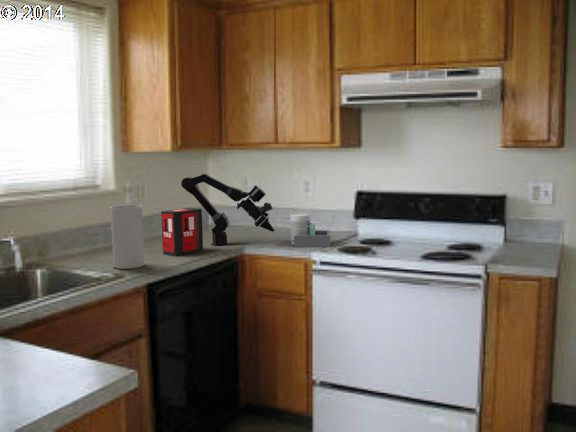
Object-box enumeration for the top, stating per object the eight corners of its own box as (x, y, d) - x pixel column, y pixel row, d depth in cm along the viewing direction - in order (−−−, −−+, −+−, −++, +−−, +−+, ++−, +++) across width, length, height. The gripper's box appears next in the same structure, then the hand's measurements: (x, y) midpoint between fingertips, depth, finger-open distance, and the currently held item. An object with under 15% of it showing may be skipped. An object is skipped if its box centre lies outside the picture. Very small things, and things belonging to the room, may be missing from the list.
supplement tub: (311, 245, 296) (311, 215, 295) (292, 246, 295) (292, 216, 293) (308, 242, 306) (307, 213, 304) (289, 243, 305) (289, 214, 303)
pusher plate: (309, 246, 294) (309, 227, 293) (310, 241, 307) (310, 224, 306) (314, 246, 294) (314, 227, 293) (315, 241, 307) (315, 224, 306)
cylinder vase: (136, 262, 262) (133, 204, 259) (149, 266, 252) (147, 206, 249) (108, 266, 253) (105, 206, 251) (121, 270, 244) (118, 209, 241)
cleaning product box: (190, 249, 292) (189, 208, 290) (203, 251, 286) (201, 209, 284) (163, 254, 280) (161, 211, 277) (175, 256, 274) (173, 212, 271)
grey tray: (294, 247, 293) (293, 235, 292) (295, 241, 309) (295, 230, 309) (330, 246, 291) (330, 235, 291) (330, 241, 308) (330, 230, 308)
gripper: (261, 198, 290) (284, 221, 291) (264, 196, 309) (286, 217, 309) (245, 215, 291) (268, 238, 292) (249, 211, 310) (270, 233, 310)
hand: (273, 231), depth 301 cm, fingers closed
